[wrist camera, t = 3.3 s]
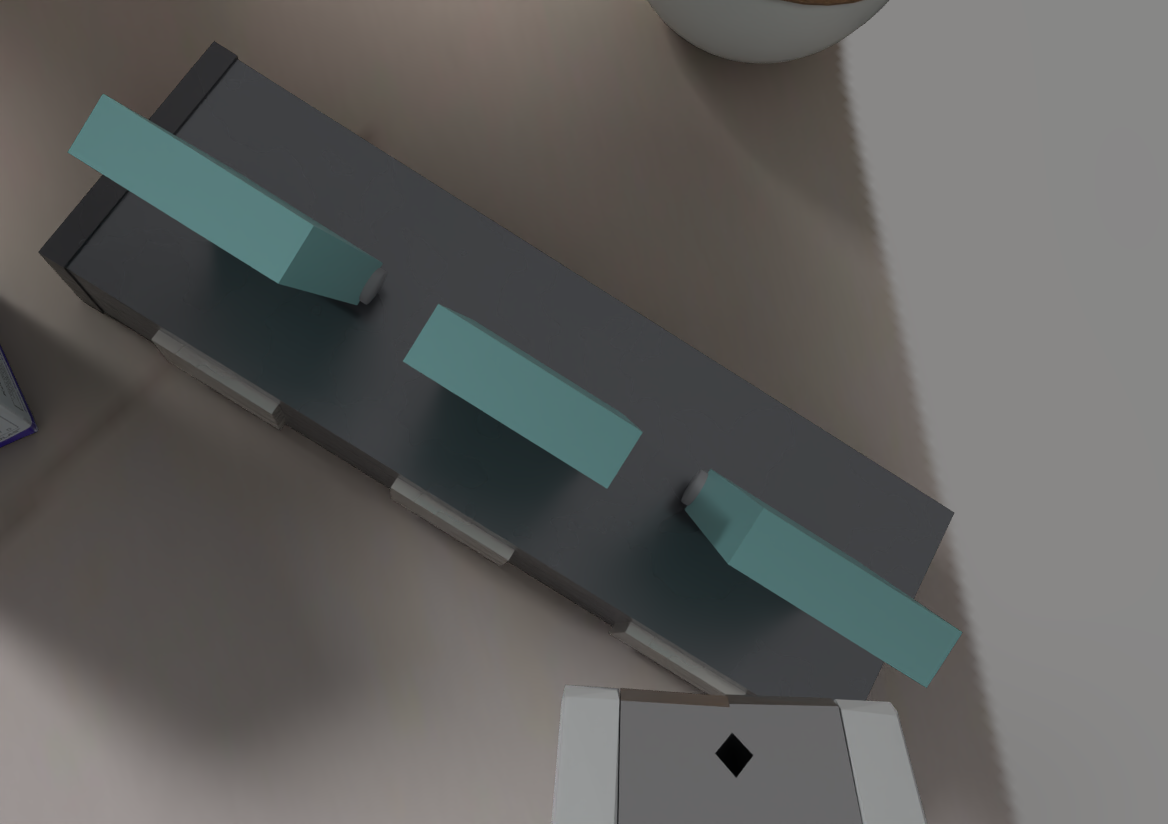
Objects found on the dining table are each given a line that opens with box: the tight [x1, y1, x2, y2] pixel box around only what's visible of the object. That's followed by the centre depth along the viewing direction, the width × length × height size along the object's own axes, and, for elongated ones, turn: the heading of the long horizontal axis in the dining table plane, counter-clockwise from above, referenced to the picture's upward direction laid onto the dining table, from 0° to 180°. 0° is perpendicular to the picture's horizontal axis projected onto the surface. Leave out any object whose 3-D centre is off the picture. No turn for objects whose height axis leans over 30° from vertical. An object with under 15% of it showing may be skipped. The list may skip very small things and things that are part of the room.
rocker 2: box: [403, 304, 643, 488], centre depth 26 cm, size 5×1×9 cm, turn 59°
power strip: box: [39, 41, 954, 701], centre depth 32 cm, size 27×8×4 cm, turn 59°
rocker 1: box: [68, 94, 387, 305], centre depth 25 cm, size 5×1×8 cm, turn 59°
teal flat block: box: [681, 469, 962, 688], centre depth 26 cm, size 5×1×9 cm, turn 59°
